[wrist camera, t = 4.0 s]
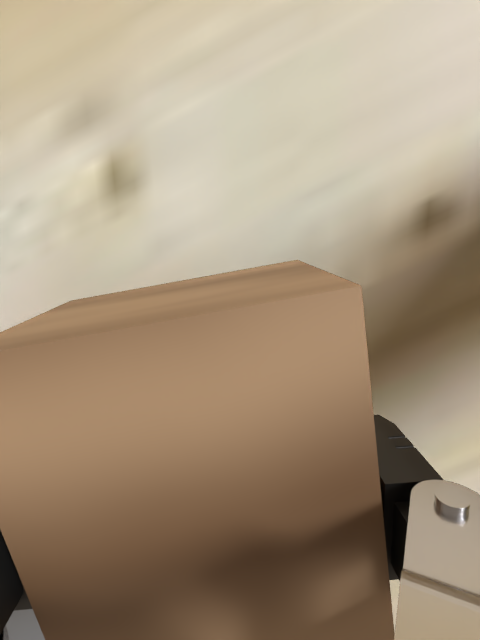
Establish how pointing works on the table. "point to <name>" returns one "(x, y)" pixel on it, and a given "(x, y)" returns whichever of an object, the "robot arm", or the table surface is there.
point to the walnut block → (197, 462)
